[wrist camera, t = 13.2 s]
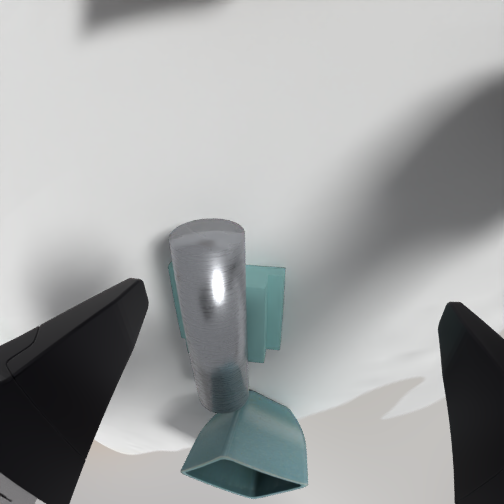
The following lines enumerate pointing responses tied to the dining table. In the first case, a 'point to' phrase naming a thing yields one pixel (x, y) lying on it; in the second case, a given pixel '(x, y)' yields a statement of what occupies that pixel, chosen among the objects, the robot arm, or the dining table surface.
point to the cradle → (255, 308)
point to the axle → (214, 308)
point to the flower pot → (251, 450)
